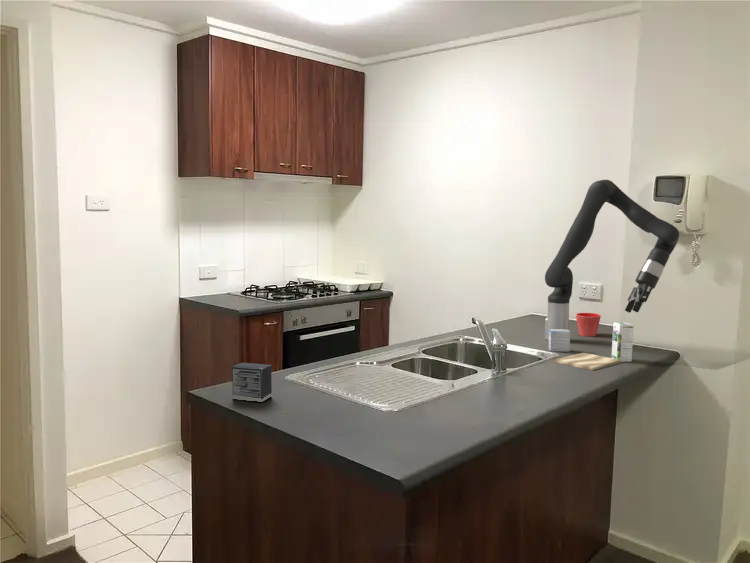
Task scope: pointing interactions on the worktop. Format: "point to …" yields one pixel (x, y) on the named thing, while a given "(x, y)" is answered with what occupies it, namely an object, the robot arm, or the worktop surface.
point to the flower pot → (588, 323)
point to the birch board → (588, 361)
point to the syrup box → (622, 341)
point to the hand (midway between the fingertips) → (631, 311)
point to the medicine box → (559, 340)
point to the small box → (251, 380)
